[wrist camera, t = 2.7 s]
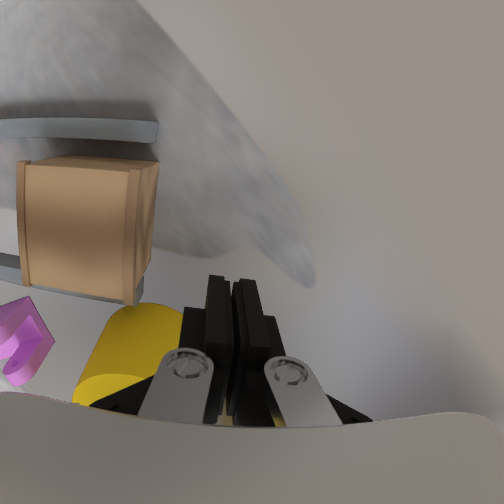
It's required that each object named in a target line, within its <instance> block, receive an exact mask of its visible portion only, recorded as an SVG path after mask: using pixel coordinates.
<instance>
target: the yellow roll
mask: <svg viewBox="0 0 504 504" xmlns="http://www.w3.org/2000/svg"><path fill="white" fill-rule="evenodd" d="M182 319H183V314H181V313H180V312H178V311H176V310H174V309H172V308H170V307H167V306H164V305H160V304H155V303H138V305H137V307H136V306H129V305H128V306H125V307H123V308H121V309H119V310H118V311H117V312H115V313H114V314H113V315H112V316H111V317H110V319H109V320H108V322H107V324H106V326H105V328H104V330H103V332H102V334H101V336H100V338H99V340H98V342H97V344H96V346H95V348H94V350H93V352H92V354H91V356H90V358H89V360H88V362H87V364H86V366H85V369H84V371H83V373H82V375H81V377H80V379H79V382H78V384H77V386H76V388H75V391H74V393H73V396H72V403H80V405H84V406H89V405H90V404H92V403H93V402H95V401H97V400H99V399H101V398H104V397H106V396H108V395H110V394H113V393H115V392H117V391H120V390H122V389H124V388H126V387H128V386H131V385H133V384H135V383H137V382H140V381H142V380H144V379H146V378H148V377H150V376H153V375H155V373H156V371H157V369H158V366H159V364H160V362H161V360H162V358H163V356H164V355H165V354H166V353H167V352H169V351H171V350H174V349H177V348H178V345H179V338H180V332H181V325H182Z"/></svg>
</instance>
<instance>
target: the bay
mask: <svg viewBox="0 0 504 504" xmlns="http://www.w3.org/2000/svg"><path fill="white" fill-rule="evenodd" d="M157 129H158V122H152V121H140V120H125V119H106V118H66V117H56V118H17V119H0V138H16V137H46V138H81V139H101V140H117V141H130V142H142V143H153V142H156V136H157ZM0 280H2V281H6V282H10V283H15V284H19V285H23V282H22V274H21V265H20V256H15V255H10V254H5V253H0ZM143 283H144V276H142V278H141V280H140V282H139V284H138V286H137V289H136V291H135V302H134V304H133V306H136V307H137V305H138V303H139V300H140V298H141V296H142V294H143ZM30 287H33V288H37V289H42V290H47V291H52V292H57V293H62V294H67V295H72V296H77V297H83V298H89V299H94V300H100V301H106V302H111V303H118V304H124V300H119V299H112V298H106V297H100V296H94V295H89V294H83V293H78V292H72V291H67V290H61V289H56V288H51V287H46V286H41V285H36V284H32V285H31V286H30Z"/></svg>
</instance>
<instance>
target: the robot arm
mask: <svg viewBox="0 0 504 504" xmlns="http://www.w3.org/2000/svg"><path fill="white" fill-rule="evenodd" d="M0 504H504V433H503V432H502V431H501V430H500V429H499V428H498V427H497V426H496V424H494V423H493V422H492V421H491V420H490V419H488V418H486V417H483V416H480V415H476V414H470V413H462V412H446V413H436V414H429V415H421V416H414V417H406V418H400V419H392V420H384V421H381V420H379V421H375V422H374V421H372V420H371V419H370V418H369V417H367V416H365V415H363V414H362V413H360V412H358V411H356V410H354V409H352V408H350V407H348V406H347V405H345V404H343V403H341V402H339V401H338V400H336V399H334V398H332V397H331V396H329V395H327V394H325V392H324V391H323V389H322V387H321V386H320V384H319V382H318V380H317V379H316V377H315V375H314V374H313V372H312V370H311V369H310V367H309V366H308V365H307V364H305V363H304V362H303V361H301V360H298V359H296V358H293V357H288V356H286V354H285V350H284V347H283V344H282V340H281V337H280V333H279V329H278V326H277V323H276V319H275V317H274V316H267V315H263V311H262V306H261V303H260V298H259V294H258V289H257V285H256V281H255V280H250V279H240V280H239V282H234V283H233V290H232V295H231V292H230V281H225V280H224V276H215V275H209V281H208V288H207V296H206V304H205V309H200V308H192V307H184V313H183V319H182V325H181V332H180V338H179V345H178V348H177V349H174V350H171V351H169V352H167V353H166V354H165V355H164V356H163V358H162V360H161V362H160V364H159V366H158V369H157V371H156V373H155V375H153V376H150V377H148V378H146V379H144V380H142V381H140V382H137V383H135V384H133V385H131V386H128V387H126V388H124V389H122V390H120V391H117V392H115V393H113V394H110V395H108V396H106V397H104V398H101V399H99V400H97V401H95V402H93V403H92V404H90V405H89V406H84V405H80V403H71V402H65V401H61V400H56V399H52V398H48V397H44V396H37V395H32V394H27V393H18V392H0Z"/></svg>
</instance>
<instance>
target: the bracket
mask: <svg viewBox="0 0 504 504" xmlns="http://www.w3.org/2000/svg"><path fill="white" fill-rule="evenodd" d="M54 343H55V340H54V338H53V337H52V335H51V333H50V332H49V330H48V328H47V326H46V325H45V323H44V321H43V320H42V318H41V316H40V314H39V313H38V311H37V309H36V307H35V305H34V303H33V302H32V300H31V298H30V296H26V297H23V298H21V299H18V300H15V301H12V302H10V303H7V304H5V305H2V306H0V360H1V359H6V358H10V359H9V360H8V362H7V363H6V365H5V366H4V368H3V373H4V375H5V376H6V378H7V379H8V380H9V382H10V383H11V384H12V385H13V386H20V385H22V384H24V383H26V382H27V381H29V380H30V379H31V378H32V377H33V376H34V374H35V373H36V372H37V370H38V368H39V367H40V365H41V363H42V362H43V360H44V359H45V357H46V355H47V354H48V352H49V351H50V349H51V347H52V346H53V344H54Z"/></svg>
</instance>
